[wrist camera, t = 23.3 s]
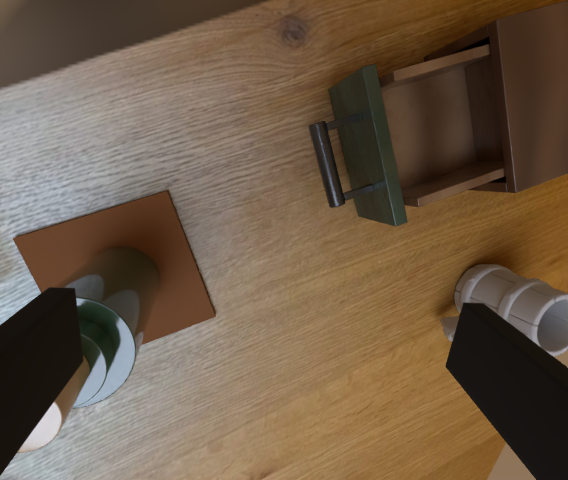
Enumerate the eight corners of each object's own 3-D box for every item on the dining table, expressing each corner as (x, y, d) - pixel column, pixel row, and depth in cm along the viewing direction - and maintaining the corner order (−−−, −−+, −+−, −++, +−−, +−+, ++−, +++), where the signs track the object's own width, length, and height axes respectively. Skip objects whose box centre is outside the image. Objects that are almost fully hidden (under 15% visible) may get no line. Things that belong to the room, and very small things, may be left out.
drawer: (320, 229, 34) (350, 243, 27) (285, 100, 31) (309, 81, 24) (476, 174, 37) (536, 174, 30) (459, 52, 34) (522, 23, 27)
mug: (510, 301, 43) (623, 348, 31) (434, 348, 41) (523, 415, 30) (495, 250, 41) (611, 280, 29) (415, 297, 39) (503, 348, 28)
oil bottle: (73, 252, 29) (-110, 368, 12) (153, 240, 31) (92, 328, 13) (92, 322, 31) (-48, 516, 13) (167, 307, 32) (129, 465, 15)
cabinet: (445, 188, 38) (516, 193, 29) (423, 57, 34) (496, 19, 26) (557, 148, 40) (652, 142, 32) (547, 22, 37) (651, -23, 28)
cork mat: (15, 237, 28) (12, 238, 28) (167, 190, 31) (167, 190, 30) (82, 365, 32) (80, 368, 31) (215, 314, 34) (215, 316, 33)
